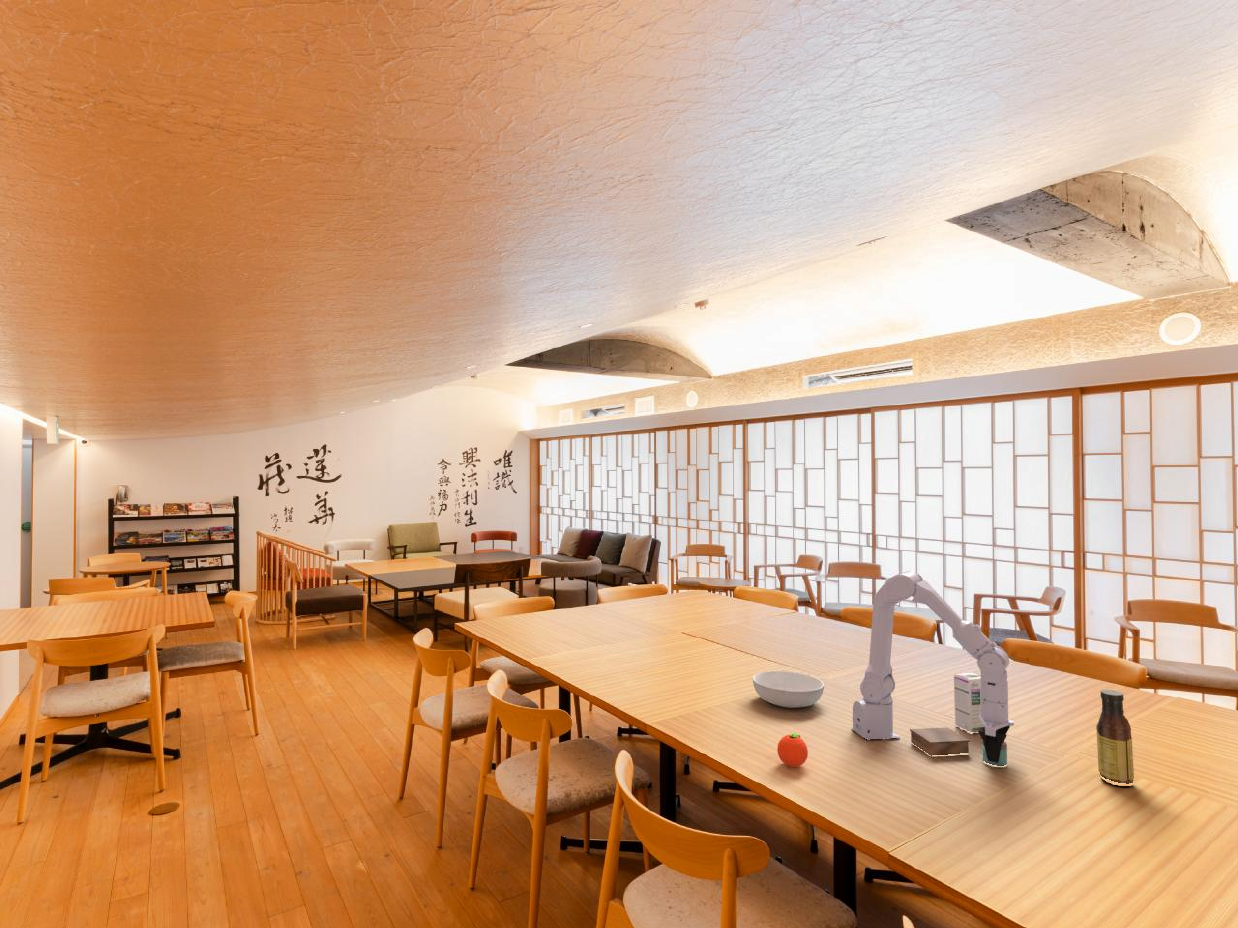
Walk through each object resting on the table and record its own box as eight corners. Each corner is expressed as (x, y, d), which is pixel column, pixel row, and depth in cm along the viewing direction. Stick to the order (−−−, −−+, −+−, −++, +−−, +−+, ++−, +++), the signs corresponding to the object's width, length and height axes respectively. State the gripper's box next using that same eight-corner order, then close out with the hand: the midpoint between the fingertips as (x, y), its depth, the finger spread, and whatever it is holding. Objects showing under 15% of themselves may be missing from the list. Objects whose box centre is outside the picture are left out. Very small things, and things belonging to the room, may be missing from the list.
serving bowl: (828, 718, 178) (828, 693, 179) (752, 712, 182) (752, 688, 183) (820, 694, 199) (820, 672, 199) (752, 689, 203) (752, 668, 203)
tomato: (786, 755, 153) (786, 725, 153) (814, 763, 149) (814, 732, 149) (772, 766, 147) (772, 735, 147) (800, 775, 142) (800, 743, 143)
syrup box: (971, 734, 167) (970, 679, 167) (953, 726, 173) (953, 672, 173) (988, 732, 168) (988, 677, 169) (970, 724, 174) (970, 671, 175)
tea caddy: (992, 768, 147) (992, 746, 147) (977, 759, 152) (977, 738, 152) (1012, 767, 147) (1011, 745, 147) (996, 758, 152) (996, 737, 152)
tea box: (930, 758, 152) (930, 742, 152) (910, 744, 161) (910, 728, 161) (970, 756, 154) (969, 740, 154) (947, 743, 162) (947, 727, 162)
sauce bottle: (1118, 775, 144) (1116, 687, 144) (1141, 788, 137) (1139, 696, 138) (1090, 775, 143) (1088, 687, 144) (1112, 788, 137) (1110, 696, 138)
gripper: (1010, 711, 142) (1011, 772, 141) (1016, 694, 153) (1017, 751, 153) (974, 704, 146) (975, 764, 146) (983, 689, 158) (984, 744, 157)
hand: (994, 757), depth 149 cm, fingers closed on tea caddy, 5 cm apart
